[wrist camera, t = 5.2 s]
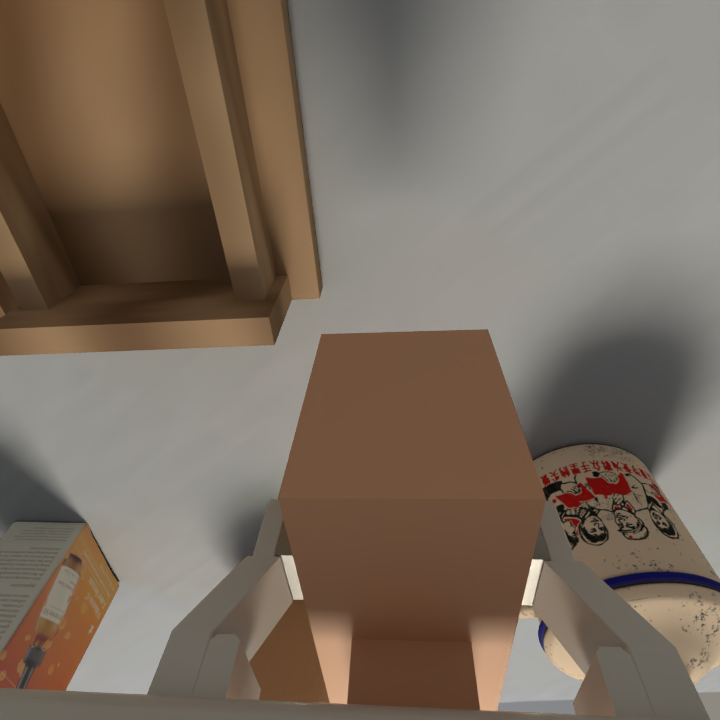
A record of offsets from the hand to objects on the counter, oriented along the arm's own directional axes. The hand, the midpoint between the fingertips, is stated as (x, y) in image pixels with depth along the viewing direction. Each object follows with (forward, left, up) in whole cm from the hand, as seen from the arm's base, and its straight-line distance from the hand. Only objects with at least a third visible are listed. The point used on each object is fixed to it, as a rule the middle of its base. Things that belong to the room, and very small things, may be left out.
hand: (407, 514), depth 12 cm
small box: (+26, +20, -13) cm, 35 cm away
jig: (+13, -7, -12) cm, 20 cm away
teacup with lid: (-9, +14, -13) cm, 21 cm away
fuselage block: (0, 0, -2) cm, 2 cm away
